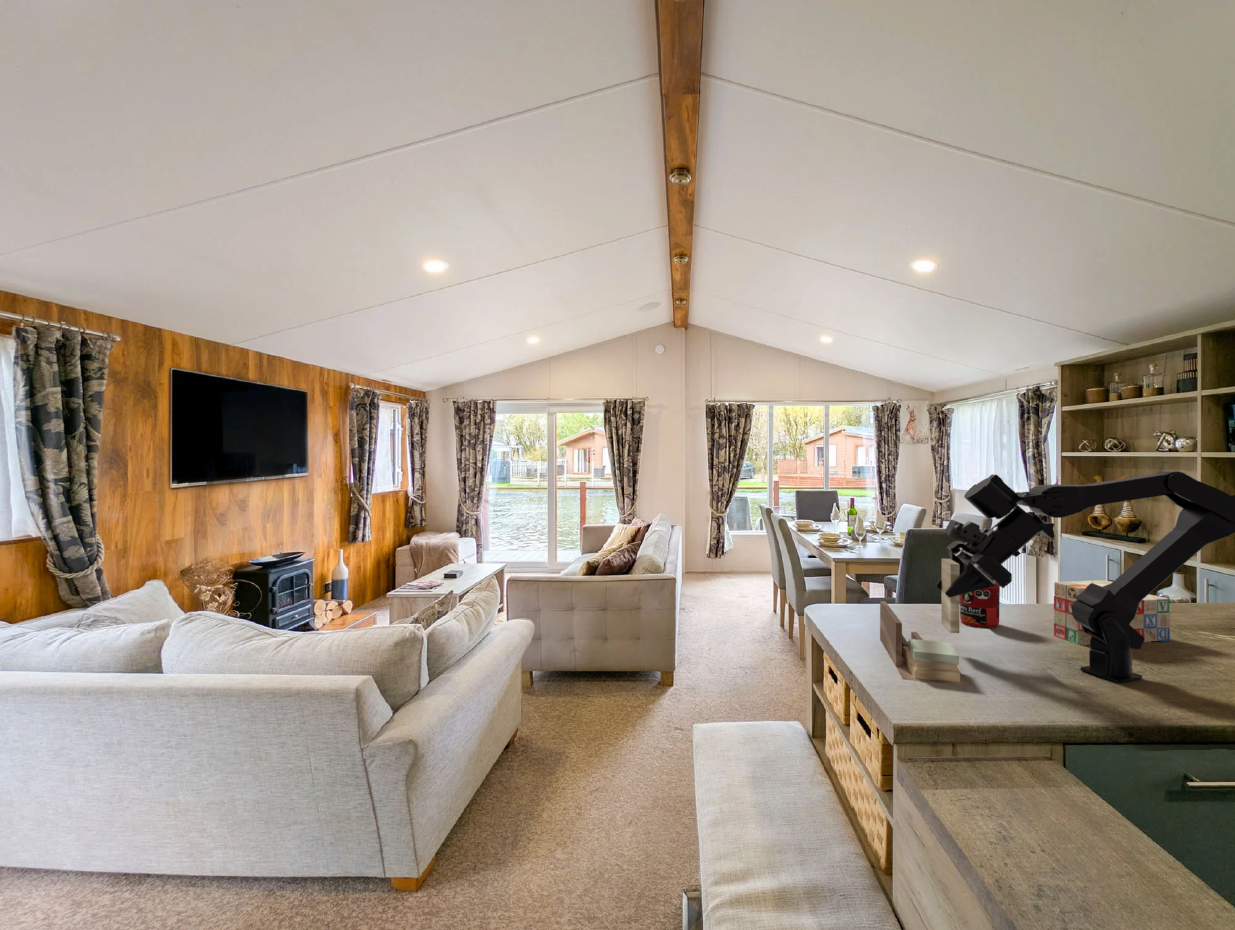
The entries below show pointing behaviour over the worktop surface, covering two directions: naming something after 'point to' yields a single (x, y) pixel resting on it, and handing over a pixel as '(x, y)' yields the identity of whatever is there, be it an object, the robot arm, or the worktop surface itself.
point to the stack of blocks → (1147, 622)
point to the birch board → (950, 603)
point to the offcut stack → (932, 660)
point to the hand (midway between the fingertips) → (942, 591)
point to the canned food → (981, 607)
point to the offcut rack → (901, 644)
